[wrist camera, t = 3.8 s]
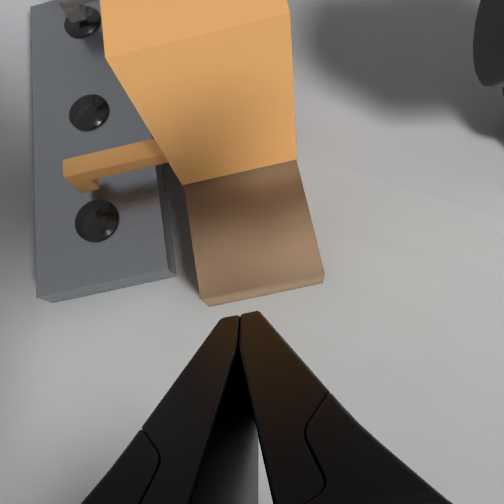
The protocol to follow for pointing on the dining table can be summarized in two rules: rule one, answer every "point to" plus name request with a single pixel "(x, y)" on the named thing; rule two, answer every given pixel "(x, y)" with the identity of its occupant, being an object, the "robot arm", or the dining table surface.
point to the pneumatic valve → (489, 44)
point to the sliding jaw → (198, 87)
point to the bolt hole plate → (110, 188)
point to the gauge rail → (246, 227)
